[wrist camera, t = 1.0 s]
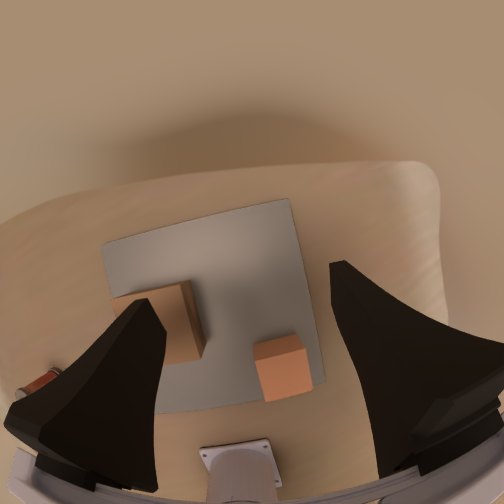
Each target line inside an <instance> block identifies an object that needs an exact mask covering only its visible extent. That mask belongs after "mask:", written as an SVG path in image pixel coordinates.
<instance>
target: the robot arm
mask: <svg viewBox="0 0 504 504" xmlns="http://www.w3.org/2000/svg"><path fill="white" fill-rule="evenodd" d="M329 268H330V286H331V305H332V308H333V312H334V315H335V319H336V322H337V325H338V328H339V330H340V333H341V335H342V337H343V340H344V342H345V344H346V347H347V349H348V351H349V354H350V356H351V359H352V361H353V363H354V366H355V368H356V371H357V374H358V376H359V379H360V383H361V386H362V390H363V394H364V398H365V402H366V406H367V410H368V415H369V419H370V424H371V429H372V434H373V440H374V446H375V452H376V459H377V468H378V474H379V479H380V480H377V481H373V482H370V483H367V484H364V485H360V486H357V487H353V488H349V489H345V490H341V491H337V492H332V493H328V494H323V495H318V496H312V497H306V498H300V499H292V500H284V501H278V496H277V490H276V488H278V487H281V486H282V481H281V478H280V475H279V472H278V469H277V465H276V462H275V459H274V456H273V453H272V449H271V446H270V443H269V441H268V440H267V439H262V440H257V441H252V442H246V443H240V444H234V445H227V446H219V447H210V448H201V449H200V450H199V454H200V456H201V458H202V460H203V462H204V464H205V466H206V468H207V469H208V471H209V480H208V489H207V497H206V503H204V502H191V501H181V500H173V499H165V498H159V497H153V496H147V495H142V494H137V493H133V492H128V491H124V490H122V488H123V489H128V490H131V489H134V490H139V491H144V492H149V493H154V492H155V491H157V490H158V483H157V476H156V469H155V458H154V412H155V402H156V396H157V391H158V386H159V382H160V377H161V372H162V368H163V363H164V358H165V352H166V341H167V331H166V330H165V328H164V326H163V325H162V323H161V321H160V319H159V318H158V316H157V314H156V312H155V310H154V309H153V307H152V305H151V303H150V301H149V299H148V298H143V299H136V300H134V301H133V302H132V303H131V304H130V305H129V306H128V307H127V308H126V309H125V310H124V311H123V312H122V313H121V314H120V315H119V316H118V317H117V319H116V320H115V321H114V322H113V323H112V324H111V325H110V326H109V327H108V328H107V330H106V331H105V332H104V333H103V334H102V335H101V336H100V337H99V338H98V339H97V340H96V341H95V342H94V343H93V344H92V345H91V346H90V348H89V349H88V350H87V351H86V352H85V353H84V354H83V355H82V356H80V357H79V358H78V359H77V360H76V361H75V362H74V363H73V364H72V365H70V366H69V367H68V368H67V369H66V370H64V371H63V372H62V373H60V374H59V375H58V376H57V377H55V378H54V379H53V380H51V381H50V382H49V383H47V384H46V385H44V386H43V387H41V388H39V389H38V390H36V391H35V392H33V393H31V394H29V395H27V396H25V397H23V398H22V399H20V400H18V401H16V402H13V403H12V405H11V407H10V409H9V411H8V413H7V416H6V418H5V421H4V427H5V428H6V429H7V430H8V431H9V432H10V433H11V434H13V435H14V436H15V437H17V438H18V439H19V440H21V441H22V442H23V443H25V444H26V445H28V446H29V447H31V448H32V449H34V450H35V451H37V452H38V455H37V457H36V456H34V455H32V454H30V453H29V452H27V451H25V450H23V449H21V448H19V447H18V448H17V451H16V454H15V457H14V461H13V465H12V468H11V472H10V476H9V480H8V485H7V489H8V491H10V492H11V493H12V494H13V495H15V496H16V497H17V498H19V499H20V500H21V501H22V502H24V503H25V504H365V503H368V502H371V501H375V500H378V499H380V500H379V501H378V503H377V504H491V503H492V502H493V501H495V500H496V499H497V498H498V497H499V496H500V495H501V494H502V493H503V492H504V412H503V413H501V414H500V413H499V411H498V409H497V408H499V407H500V406H501V402H500V401H499V398H498V395H499V394H500V393H501V392H502V391H503V390H504V343H500V342H496V341H492V340H487V339H484V338H480V337H477V336H473V335H470V334H468V333H465V332H462V331H459V330H457V329H454V328H451V327H449V326H447V325H445V324H442V323H440V322H438V321H436V320H433V319H431V318H429V317H427V316H425V315H424V314H422V313H420V312H418V311H416V310H414V309H413V308H411V307H409V306H407V305H406V304H404V303H403V302H401V301H399V300H398V299H396V298H395V297H393V296H392V295H390V294H389V293H387V292H386V291H384V290H383V289H382V288H380V287H379V286H378V285H376V284H375V283H374V282H372V281H371V280H370V279H368V278H367V277H366V276H365V275H363V274H362V273H361V272H359V271H358V270H357V269H356V268H354V267H353V266H352V265H351V264H349V263H348V262H347V261H345V260H342V261H338V262H333V263H329ZM265 445H267V446H265ZM203 454H205V455H203ZM276 480H277V481H276ZM381 498H382V499H381Z"/></svg>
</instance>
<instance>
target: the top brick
mask: <svg viewBox="0 0 504 504" xmlns="http://www.w3.org/2000/svg"><path fill="white" fill-rule="evenodd" d="M252 345H253V352H254V359H255V364H256V368H257V371H258V375H259V379H260V383H261V386H262V390H263V394H264V398H265V401H266V402H270V401H274V400H279V399H283V398H287V397H290V396H294V395H298V394H302V393H305V392H309V391H312V390H313V385H312V380H311V374H310V369H309V364H308V358H307V353H306V348H305V347H304V345H303V344H302V342H301V341H300V340H299V338H298V337H297V335H296V334H293V335H289V336H285V337H281V338H277V339H273V340H269V341H265V342H261V343H257V344H252Z"/></svg>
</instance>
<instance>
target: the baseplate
mask: <svg viewBox="0 0 504 504" xmlns="http://www.w3.org/2000/svg"><path fill="white" fill-rule="evenodd" d="M101 248H102V253H103V259H104V264H105V269H106V273H107V278H108V282H109V286H110V291H111V295H112V299H113V298H116V297H119V296H122V295H124V294H127V293H130V292H135V291H140V290H144V289H149V288H153V287H158V286H162V285H167V284H171V283H176V282H180V281H185V280H189V279H190V283H191V287H192V291H193V295H194V299H195V303H196V306H197V310H198V314H199V318H200V321H201V325H202V329H203V332H204V336H205V339H206V343H207V344H206V347H205V350H204V352H203V355H202V358H201V360H196V361H190V362H184V363H177V364H171V365H164V366H163V368H162V372H161V377H160V382H159V386H158V391H157V396H156V402H155V412H154V414H166V413H178V412H188V411H196V410H204V409H211V408H218V407H224V406H230V405H236V404H241V403H246V402H251V401H256V400H261V399H265V398H264V394H263V390H262V386H261V383H260V379H259V375H258V371H257V368H256V364H255V359H254V352H253V345H252V344H257V343H261V342H265V341H269V340H273V339H277V338H281V337H285V336H289V335H293V334H296V335H297V337H298V338H299V340H300V341H301V342H302V344H303V345H304V347H305V348H306V353H307V358H308V364H309V369H310V374H311V380H312V385H313V386H315V385H318V384H322V383H325V382H326V381H325V375H324V369H323V363H322V357H321V351H320V345H319V340H318V334H317V329H316V324H315V318H314V313H313V308H312V303H311V298H310V293H309V288H308V284H307V279H306V274H305V269H304V265H303V260H302V256H301V251H300V247H299V243H298V238H297V234H296V230H295V226H294V221H293V217H292V213H291V209H290V205H289V201H288V198H287V199H283V200H278V201H273V202H268V203H264V204H259V205H254V206H250V207H245V208H241V209H236V210H232V211H228V212H223V213H219V214H215V215H211V216H207V217H202V218H198V219H194V220H190V221H186V222H182V223H178V224H174V225H171V226H167V227H163V228H159V229H155V230H152V231H148V232H144V233H141V234H137V235H133V236H130V237H126V238H123V239H119V240H116V241H112V242H109V243H106V244H102V245H101Z"/></svg>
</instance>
